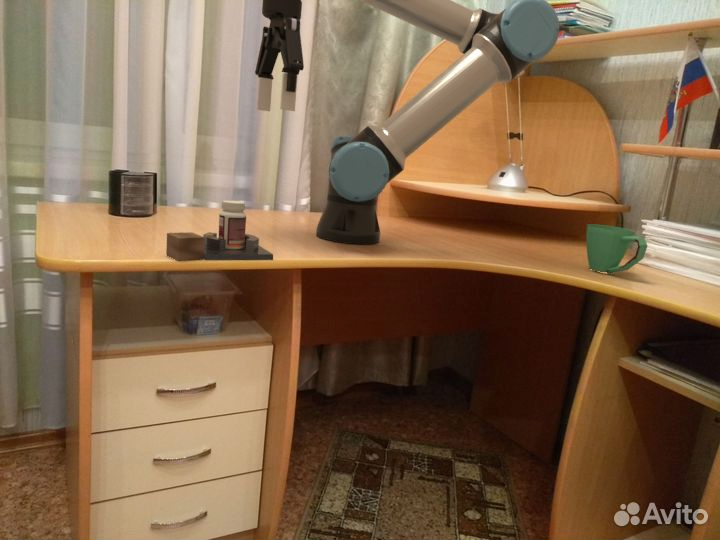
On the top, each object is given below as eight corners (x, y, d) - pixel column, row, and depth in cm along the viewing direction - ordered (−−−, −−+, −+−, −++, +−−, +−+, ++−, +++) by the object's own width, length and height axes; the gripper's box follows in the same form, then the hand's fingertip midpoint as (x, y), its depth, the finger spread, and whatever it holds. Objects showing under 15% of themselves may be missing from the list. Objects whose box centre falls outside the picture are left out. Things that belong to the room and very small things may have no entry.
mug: (568, 266, 125) (577, 223, 123) (600, 266, 129) (608, 225, 127) (620, 282, 112) (630, 235, 110) (653, 283, 116) (664, 237, 114)
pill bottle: (248, 247, 102) (251, 202, 100) (237, 251, 97) (240, 204, 95) (224, 243, 102) (227, 199, 101) (213, 247, 98) (215, 200, 96)
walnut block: (191, 254, 95) (192, 232, 94) (203, 260, 92) (204, 237, 91) (166, 256, 92) (166, 233, 91) (178, 262, 89) (179, 238, 88)
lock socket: (251, 246, 108) (252, 229, 107) (272, 259, 98) (274, 241, 97) (189, 245, 102) (190, 228, 101) (205, 260, 92) (206, 240, 91)
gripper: (244, 3, 114) (238, 108, 118) (289, -22, 93) (279, 107, 97) (277, 11, 117) (270, 112, 122) (328, -12, 96) (317, 112, 101)
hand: (274, 110), depth 110 cm, fingers open, 13 cm apart
